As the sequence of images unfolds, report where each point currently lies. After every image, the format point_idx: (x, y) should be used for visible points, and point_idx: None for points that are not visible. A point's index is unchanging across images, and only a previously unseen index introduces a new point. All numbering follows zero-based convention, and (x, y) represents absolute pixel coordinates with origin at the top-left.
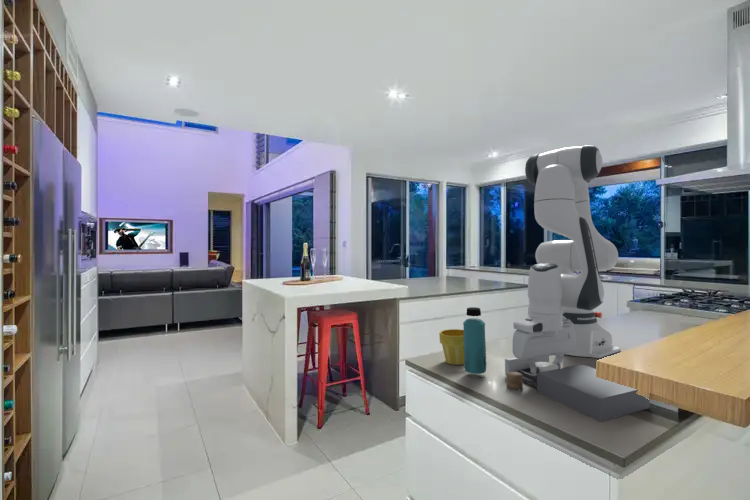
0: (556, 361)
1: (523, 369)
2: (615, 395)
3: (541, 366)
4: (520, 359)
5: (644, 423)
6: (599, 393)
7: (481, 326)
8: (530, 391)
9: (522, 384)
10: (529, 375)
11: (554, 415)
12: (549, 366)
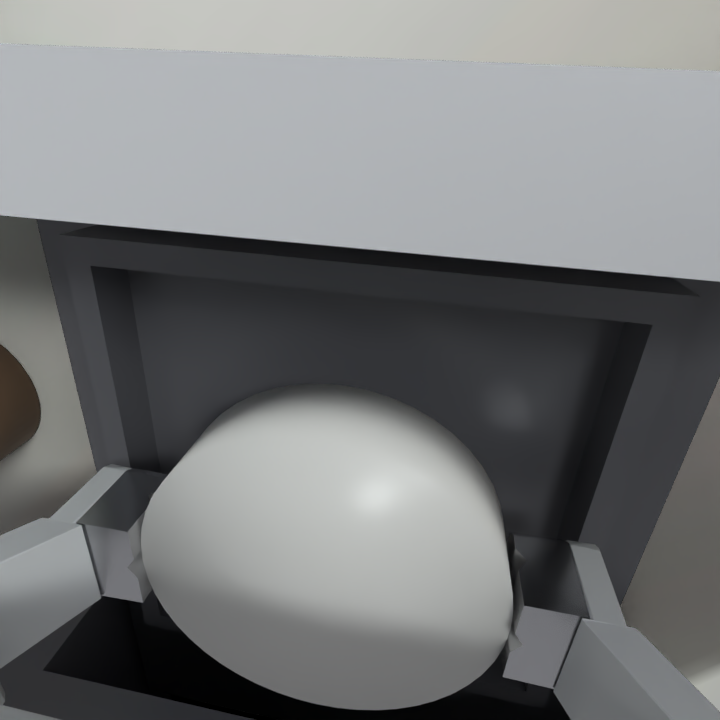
0: (582, 667)
1: (149, 271)
2: None
3: (220, 583)
4: (28, 212)
5: None
6: None
7: None
8: (61, 503)
9: (2, 458)
10: (113, 439)
11: None
12: (324, 640)
